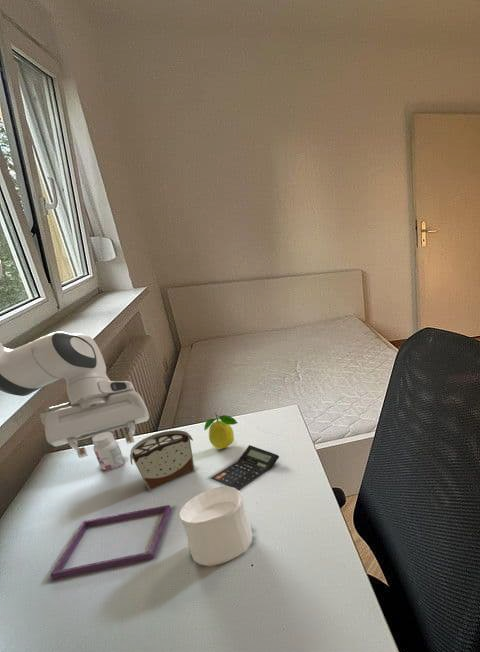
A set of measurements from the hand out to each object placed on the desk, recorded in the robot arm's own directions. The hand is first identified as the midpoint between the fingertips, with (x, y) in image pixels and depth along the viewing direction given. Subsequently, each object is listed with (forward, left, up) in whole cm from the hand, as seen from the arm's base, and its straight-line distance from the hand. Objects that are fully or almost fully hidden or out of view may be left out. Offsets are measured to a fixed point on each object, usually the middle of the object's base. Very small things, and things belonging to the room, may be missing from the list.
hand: (107, 449), depth 102 cm
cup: (+29, -36, -5) cm, 46 cm away
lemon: (+25, 0, -5) cm, 25 cm away
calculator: (+31, -13, -5) cm, 34 cm away
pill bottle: (0, 0, -5) cm, 5 cm away
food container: (+14, -9, -5) cm, 17 cm away
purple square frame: (+10, -29, -5) cm, 31 cm away
